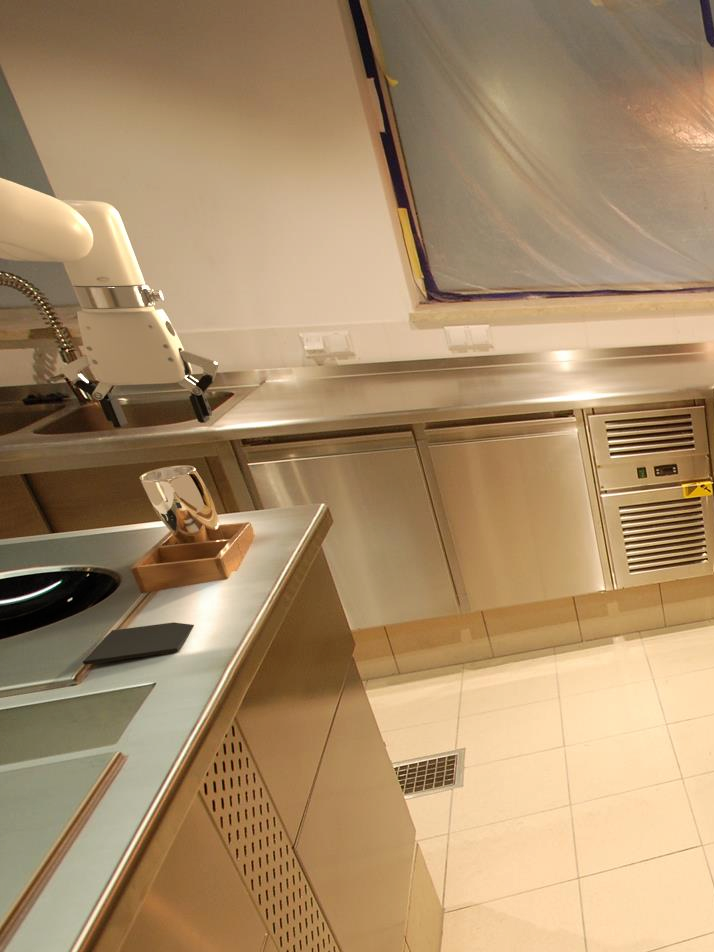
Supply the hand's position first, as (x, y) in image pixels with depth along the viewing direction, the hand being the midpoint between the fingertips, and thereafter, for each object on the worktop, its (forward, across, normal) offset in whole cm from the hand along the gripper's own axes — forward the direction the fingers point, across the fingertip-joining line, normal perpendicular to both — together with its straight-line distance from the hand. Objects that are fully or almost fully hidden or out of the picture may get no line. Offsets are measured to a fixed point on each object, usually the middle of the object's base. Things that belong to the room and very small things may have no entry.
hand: (163, 423), depth 124 cm
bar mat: (+22, +1, +32) cm, 39 cm away
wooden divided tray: (+22, 0, +5) cm, 23 cm away
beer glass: (+22, 0, 0) cm, 22 cm away
